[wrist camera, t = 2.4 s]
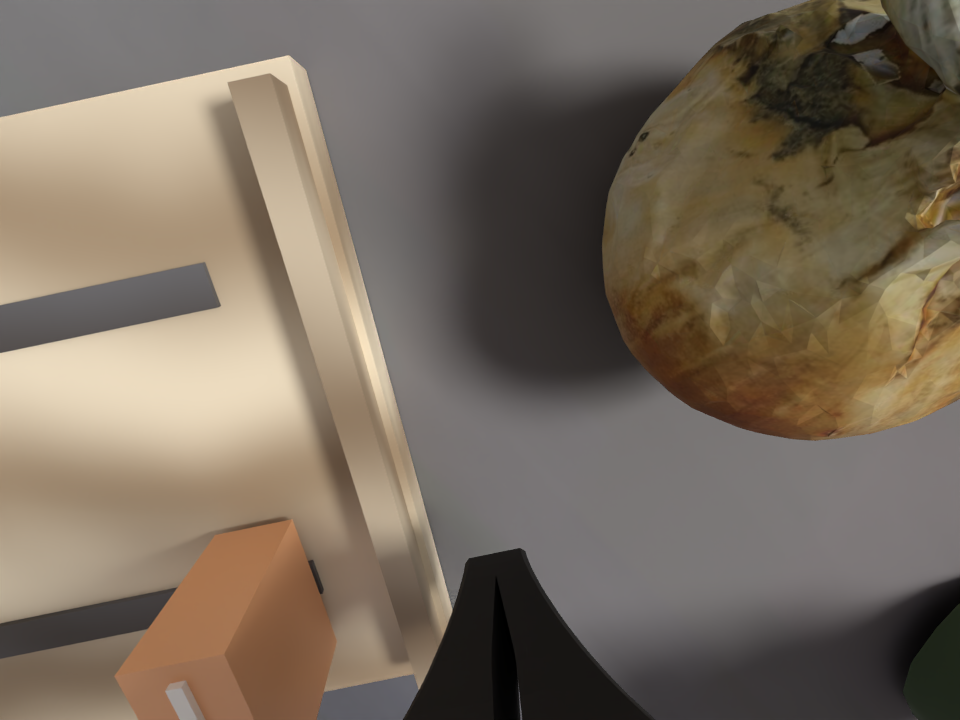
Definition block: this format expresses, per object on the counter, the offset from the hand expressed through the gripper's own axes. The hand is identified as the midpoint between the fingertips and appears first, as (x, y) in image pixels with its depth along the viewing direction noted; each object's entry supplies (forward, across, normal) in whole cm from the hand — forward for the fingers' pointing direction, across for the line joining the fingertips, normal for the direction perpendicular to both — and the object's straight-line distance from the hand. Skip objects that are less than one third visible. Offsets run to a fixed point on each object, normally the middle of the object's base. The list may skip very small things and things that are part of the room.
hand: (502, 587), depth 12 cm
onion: (+3, -7, -7) cm, 11 cm away
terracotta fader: (+2, +6, 0) cm, 6 cm away
